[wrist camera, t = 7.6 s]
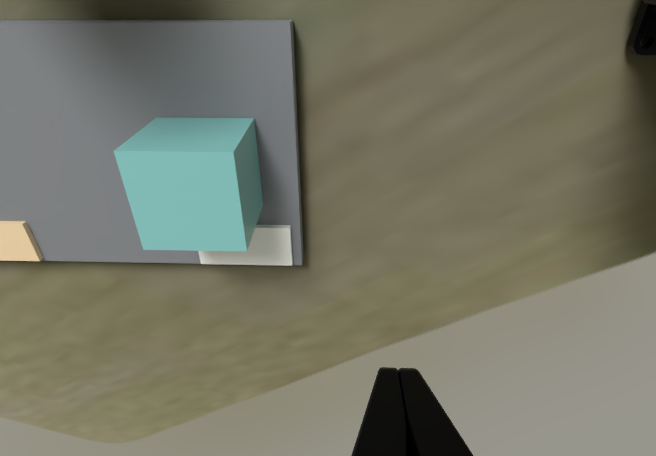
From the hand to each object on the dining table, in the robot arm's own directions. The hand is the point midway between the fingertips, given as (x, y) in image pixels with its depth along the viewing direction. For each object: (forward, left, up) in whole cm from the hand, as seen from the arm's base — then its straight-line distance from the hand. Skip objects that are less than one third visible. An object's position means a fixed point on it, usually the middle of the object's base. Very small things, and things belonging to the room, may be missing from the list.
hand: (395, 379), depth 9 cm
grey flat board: (+13, 0, -13) cm, 19 cm away
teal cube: (+7, 0, -12) cm, 14 cm away
